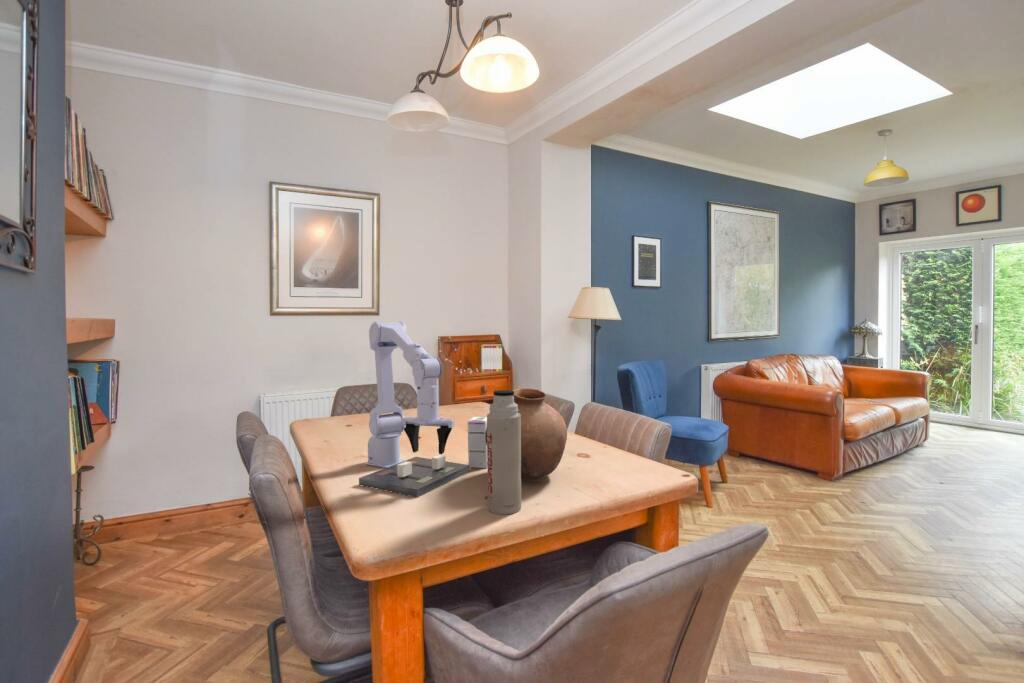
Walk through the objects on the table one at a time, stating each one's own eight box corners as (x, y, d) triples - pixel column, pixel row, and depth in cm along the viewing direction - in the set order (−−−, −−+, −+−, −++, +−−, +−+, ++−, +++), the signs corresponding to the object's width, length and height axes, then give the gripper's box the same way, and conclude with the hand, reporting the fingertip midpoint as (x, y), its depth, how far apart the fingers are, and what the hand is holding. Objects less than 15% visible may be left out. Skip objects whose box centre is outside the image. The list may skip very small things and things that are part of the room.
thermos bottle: (488, 515, 117) (487, 393, 115) (487, 502, 125) (486, 388, 123) (523, 513, 117) (522, 392, 116) (519, 501, 125) (518, 388, 124)
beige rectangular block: (397, 476, 138) (397, 464, 138) (406, 472, 141) (406, 461, 141) (403, 477, 137) (403, 465, 137) (411, 473, 140) (411, 462, 140)
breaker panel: (359, 485, 138) (358, 477, 138) (416, 462, 159) (416, 456, 159) (417, 497, 128) (417, 489, 128) (469, 471, 149) (469, 464, 149)
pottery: (507, 462, 159) (507, 382, 158) (578, 471, 149) (578, 386, 148) (470, 483, 139) (469, 392, 138) (549, 496, 129) (548, 397, 127)
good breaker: (432, 468, 145) (431, 457, 145) (439, 465, 148) (439, 454, 148) (437, 469, 144) (437, 458, 144) (445, 466, 147) (445, 455, 147)
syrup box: (486, 468, 153) (486, 420, 152) (467, 467, 154) (467, 419, 153) (491, 463, 158) (490, 416, 158) (473, 462, 159) (472, 416, 159)
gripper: (396, 404, 136) (397, 454, 136) (447, 406, 132) (447, 458, 132) (408, 399, 142) (409, 448, 143) (457, 401, 139) (457, 451, 139)
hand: (428, 452), depth 138 cm, fingers open, 7 cm apart
